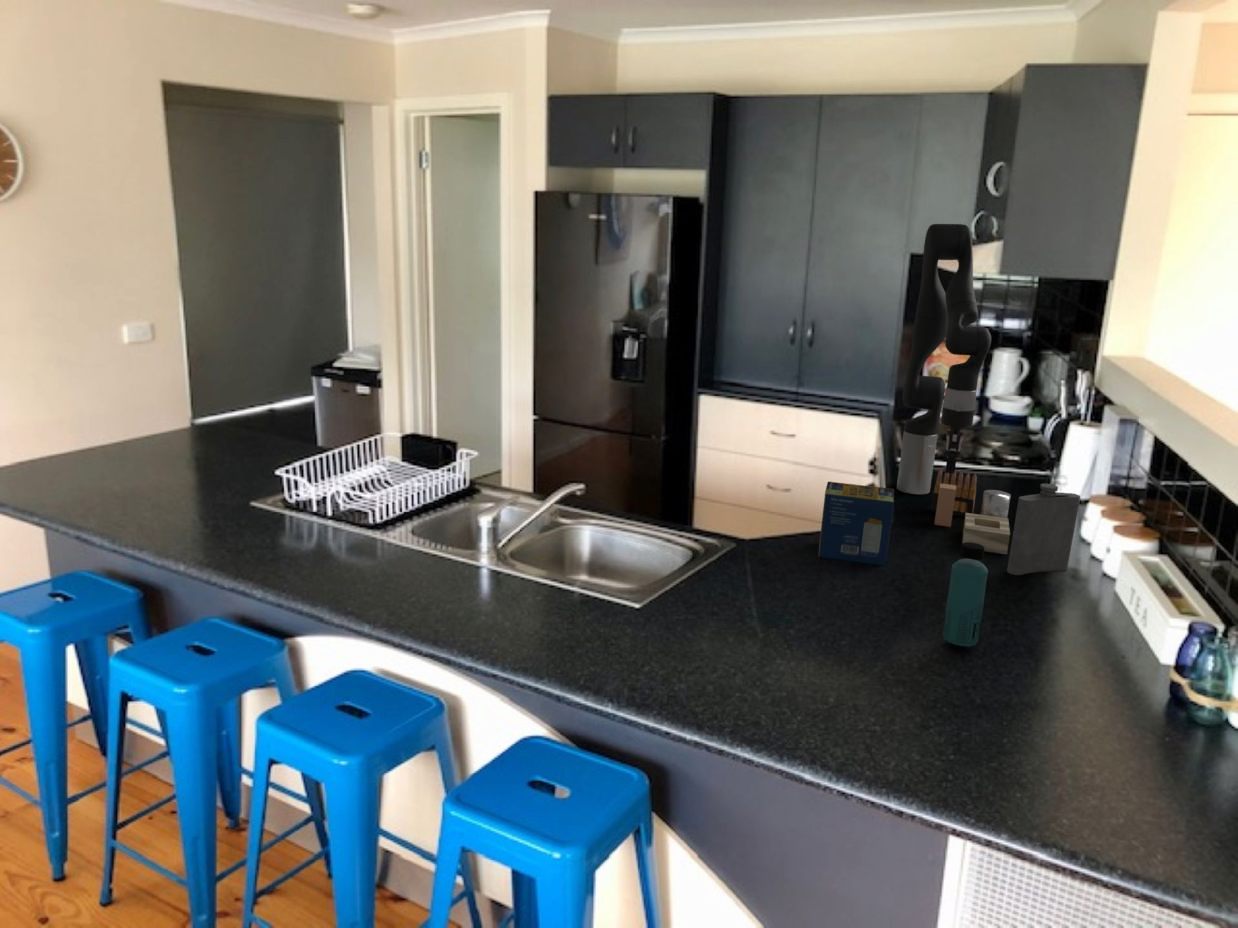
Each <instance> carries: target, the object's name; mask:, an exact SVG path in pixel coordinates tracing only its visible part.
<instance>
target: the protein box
mask: <svg viewBox="0 0 1238 928" xmlns="http://www.w3.org/2000/svg"><path fill="white" fill-rule="evenodd" d="M894 497H895V489H894V488H889V487H881V486H880V487H879V486H871V485H862V484H855V483H853V484H852V483H843V482H835V481H827V483H826V487H825V491H824V501H823V508H822V518H821V526H820V535H819V542H818V543H819V544H818V545H819V547H818V558H822V559H823V558H825V559H830V560H831V559H832V560H839V561H844V560H845V562H852V561H854V562H853V563H859V562H861V564H866V563H868V564H869V565H874V564H875V565H874V566H882V567H885V566H887V560H888V552H889V546H890V545H889V544H890V536H891V530H892V529H891V528H892V522H893V521H892V520H893V513H894V503H895V502H894V501H895V500H894V499H895V498H894Z"/></svg>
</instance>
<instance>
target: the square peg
mask: <svg viewBox="0 0 1238 928" xmlns="http://www.w3.org/2000/svg"><path fill="white" fill-rule="evenodd" d="M956 485H957V484H955V485H950V484H949V485H948V484H943V483H942V484H940V488H939V495H938V502H937V509H936V512H935V517H934V518H935V519H934V525H935V526H941V527H948V528H951V527H952V521H953V516H954V515H953V508H954V501H955V494H956Z"/></svg>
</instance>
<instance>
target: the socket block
mask: <svg viewBox="0 0 1238 928" xmlns="http://www.w3.org/2000/svg"><path fill="white" fill-rule="evenodd" d="M1010 536H1011V530H1010V523H1009V518H1008V517H1007V518H1000V517H993V516H986V515H980V514H977V513H973V514H971V513H966V514H965V517H964V522H963V529H962V544H963V543H965V542H973V543H978V544H980V545H982V546H984V552H987V553H995V554H1001V555H1008V550H1009V542H1010V538H1011V537H1010Z"/></svg>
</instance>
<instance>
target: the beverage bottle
mask: <svg viewBox="0 0 1238 928" xmlns="http://www.w3.org/2000/svg"><path fill="white" fill-rule="evenodd" d="M959 555H960V556H961V557H963V558H960V559H958V560H957V561H955V562H953V564H952V565H951V573H950V581H949V589H948V593H947V599H946V605H945V611H944V618H943V621H944V622H943V625H942V635H943V638H944V640H946V642H948V643H950V644H953V645H956V646H960V647H961V646H962V647H973V646H976V645H977V643H978V641H979V639H980V634H981V628H982V622H983V621H982V620H983V614H984V609H985V607H984V602H985V598H986V590H987V589H986V587H987V580H988V575H989V570H988V567H987V566H986V565H985V564H984V563H983V562H981V561H979V560H983V559H985V551H984V546H982V545H980V544H978V543H973V542H965V543H963V542H962V544H961V547H960V551H959Z"/></svg>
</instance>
